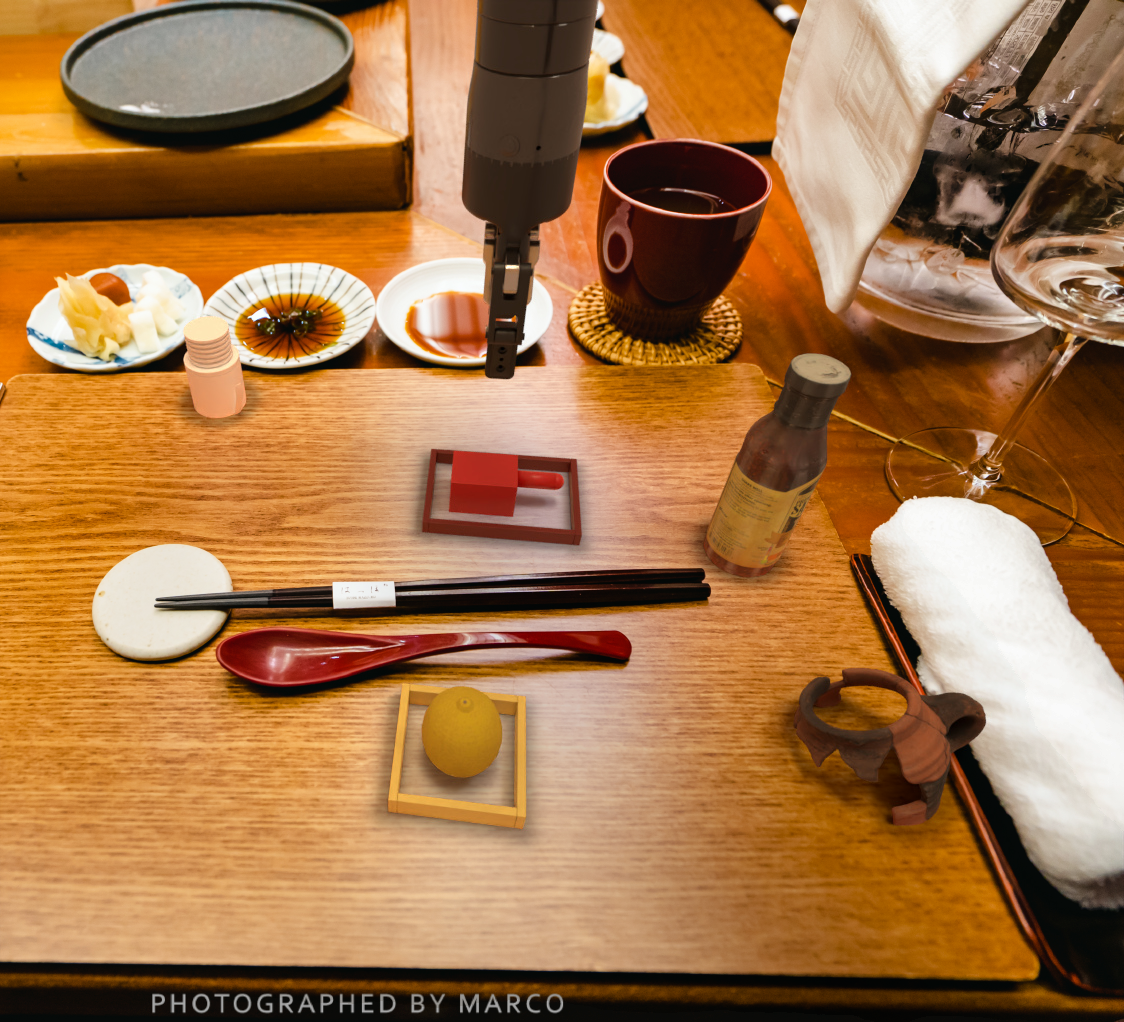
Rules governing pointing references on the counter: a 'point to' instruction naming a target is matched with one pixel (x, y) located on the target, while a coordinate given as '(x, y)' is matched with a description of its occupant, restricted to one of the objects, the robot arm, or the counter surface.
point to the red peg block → (492, 483)
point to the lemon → (462, 731)
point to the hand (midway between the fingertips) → (500, 344)
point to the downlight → (213, 368)
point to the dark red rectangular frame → (504, 529)
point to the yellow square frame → (456, 808)
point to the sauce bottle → (776, 470)
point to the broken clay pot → (894, 735)
